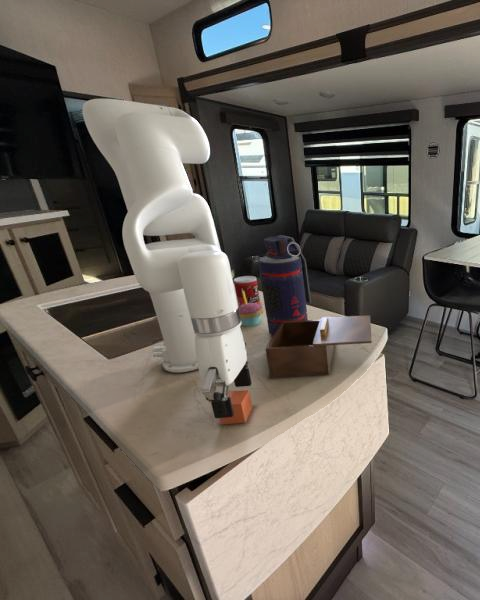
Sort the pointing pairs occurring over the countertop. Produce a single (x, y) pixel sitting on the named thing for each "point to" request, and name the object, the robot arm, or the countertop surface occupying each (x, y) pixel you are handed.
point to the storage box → (297, 351)
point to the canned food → (247, 289)
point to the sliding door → (343, 330)
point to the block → (239, 407)
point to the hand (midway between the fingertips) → (234, 400)
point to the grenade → (284, 282)
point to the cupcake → (250, 312)
